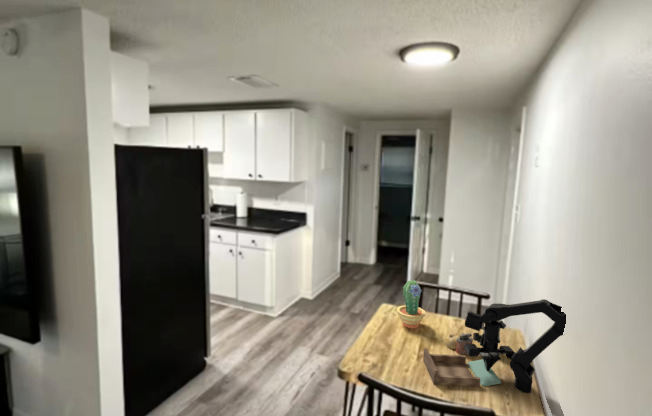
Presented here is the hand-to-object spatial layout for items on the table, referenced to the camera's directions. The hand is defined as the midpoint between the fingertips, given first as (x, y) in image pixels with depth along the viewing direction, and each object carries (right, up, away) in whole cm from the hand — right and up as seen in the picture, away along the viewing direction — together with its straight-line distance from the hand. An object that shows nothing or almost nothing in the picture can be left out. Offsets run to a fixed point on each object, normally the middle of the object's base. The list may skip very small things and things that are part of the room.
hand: (487, 370), depth 150 cm
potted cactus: (-21, +3, +48) cm, 52 cm away
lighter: (-3, -1, +18) cm, 19 cm away
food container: (+11, -1, +21) cm, 24 cm away
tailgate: (-5, -2, 0) cm, 6 cm away
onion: (-6, 0, +23) cm, 24 cm away
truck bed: (-15, -3, +1) cm, 16 cm away
